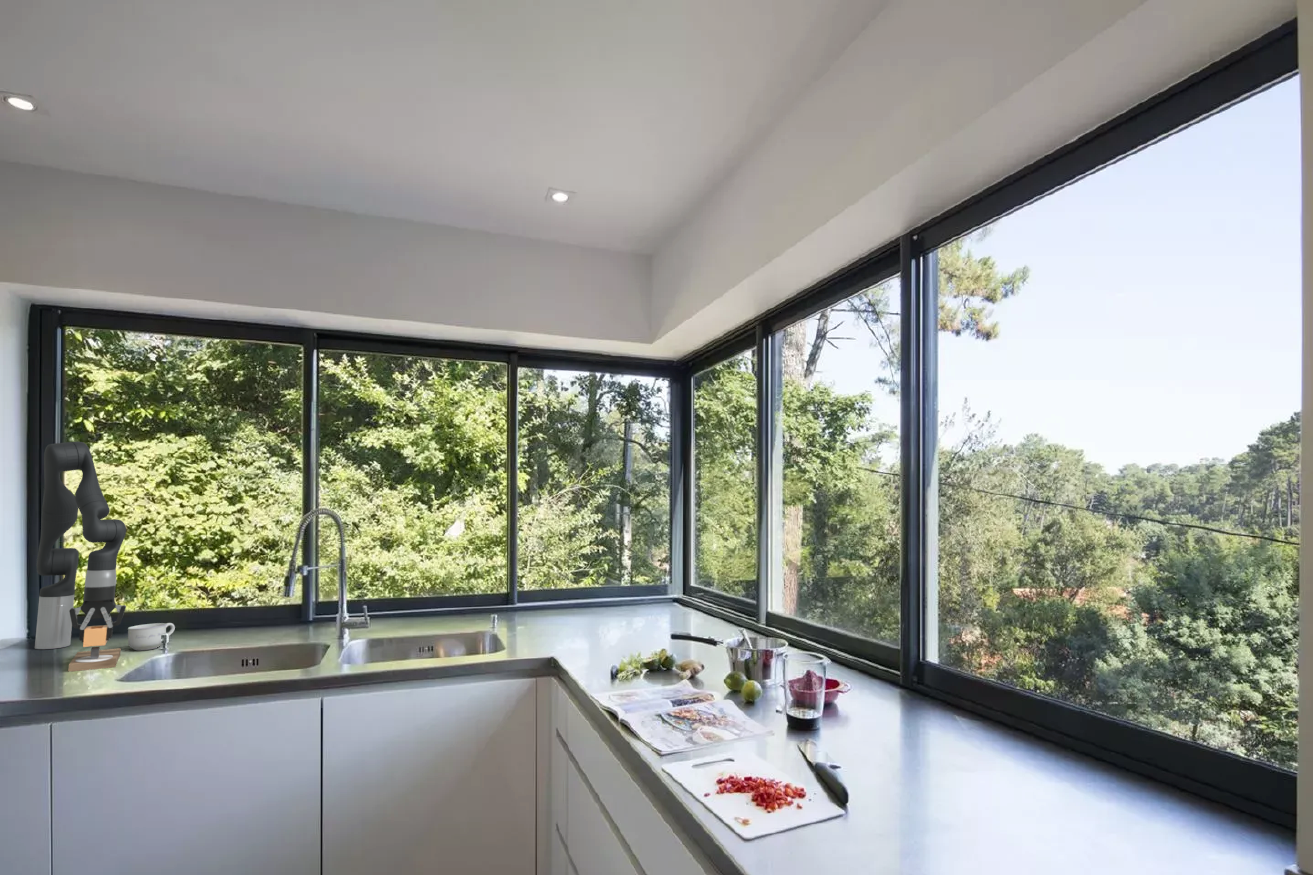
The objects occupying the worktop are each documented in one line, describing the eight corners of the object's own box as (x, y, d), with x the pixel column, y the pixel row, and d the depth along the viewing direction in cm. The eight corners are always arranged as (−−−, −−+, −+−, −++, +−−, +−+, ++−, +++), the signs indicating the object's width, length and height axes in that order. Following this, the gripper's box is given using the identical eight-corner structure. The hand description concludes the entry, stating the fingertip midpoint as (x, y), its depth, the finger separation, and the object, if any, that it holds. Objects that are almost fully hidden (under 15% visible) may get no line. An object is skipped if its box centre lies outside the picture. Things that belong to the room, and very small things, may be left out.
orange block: (105, 645, 213) (106, 628, 214) (83, 646, 210) (84, 629, 211) (107, 641, 219) (108, 624, 219) (85, 642, 216) (87, 626, 216)
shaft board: (77, 658, 223) (78, 640, 224) (120, 654, 230) (121, 637, 230) (68, 671, 207) (69, 652, 207) (115, 667, 213) (116, 648, 213)
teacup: (132, 653, 231) (134, 629, 232) (121, 649, 237) (123, 625, 238) (180, 647, 242) (182, 623, 243) (168, 642, 249) (170, 619, 249)
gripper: (68, 587, 209) (63, 645, 208) (128, 584, 217) (124, 640, 215) (71, 584, 215) (67, 641, 214) (130, 582, 223) (125, 636, 222)
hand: (95, 640), depth 215 cm, fingers closed on orange block, 5 cm apart
